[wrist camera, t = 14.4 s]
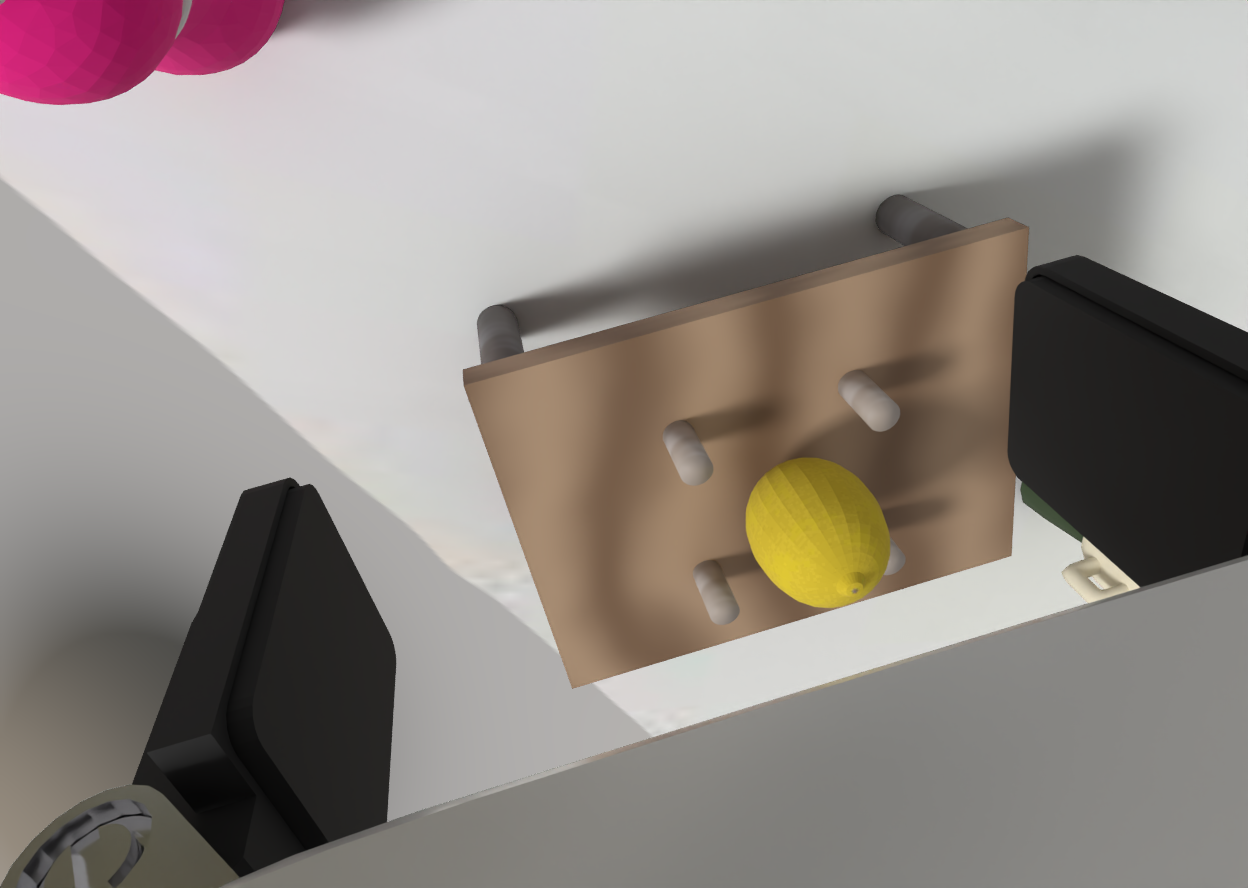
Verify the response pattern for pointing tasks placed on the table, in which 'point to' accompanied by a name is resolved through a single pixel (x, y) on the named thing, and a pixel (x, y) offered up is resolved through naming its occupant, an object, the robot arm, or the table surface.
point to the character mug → (1093, 558)
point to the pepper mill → (122, 43)
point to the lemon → (817, 532)
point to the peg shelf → (755, 437)
